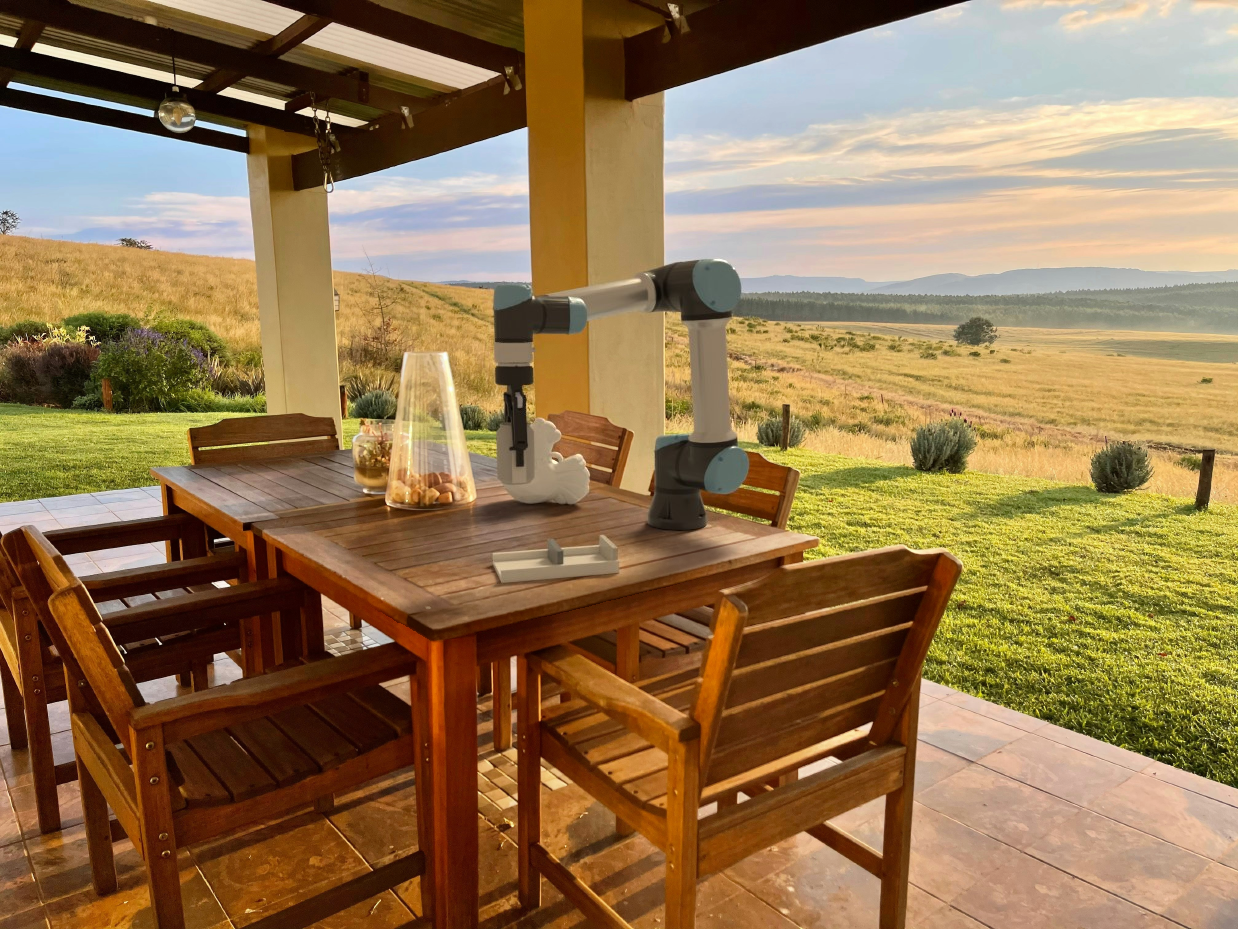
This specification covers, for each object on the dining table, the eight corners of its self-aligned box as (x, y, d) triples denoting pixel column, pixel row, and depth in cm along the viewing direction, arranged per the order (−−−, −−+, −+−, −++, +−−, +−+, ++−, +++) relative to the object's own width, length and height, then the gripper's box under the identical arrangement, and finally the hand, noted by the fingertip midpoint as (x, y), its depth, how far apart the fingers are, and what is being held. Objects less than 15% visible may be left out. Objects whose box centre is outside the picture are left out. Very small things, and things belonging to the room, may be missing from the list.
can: (539, 479, 166) (538, 421, 164) (528, 486, 159) (527, 425, 157) (505, 478, 168) (503, 420, 166) (491, 484, 160) (490, 424, 158)
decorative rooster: (483, 479, 230) (514, 416, 216) (518, 461, 243) (550, 401, 228) (545, 538, 225) (581, 477, 210) (578, 517, 237) (614, 458, 223)
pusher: (553, 556, 173) (552, 538, 172) (563, 570, 163) (563, 551, 163) (547, 556, 173) (547, 538, 172) (557, 570, 163) (557, 551, 162)
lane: (602, 555, 178) (602, 533, 177) (619, 572, 165) (619, 549, 164) (492, 564, 171) (492, 541, 170) (501, 582, 159) (500, 558, 158)
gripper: (542, 366, 151) (543, 487, 155) (524, 362, 170) (526, 469, 174) (501, 367, 149) (504, 489, 153) (488, 362, 168) (491, 471, 172)
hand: (516, 478), depth 163 cm, fingers closed on can, 7 cm apart
